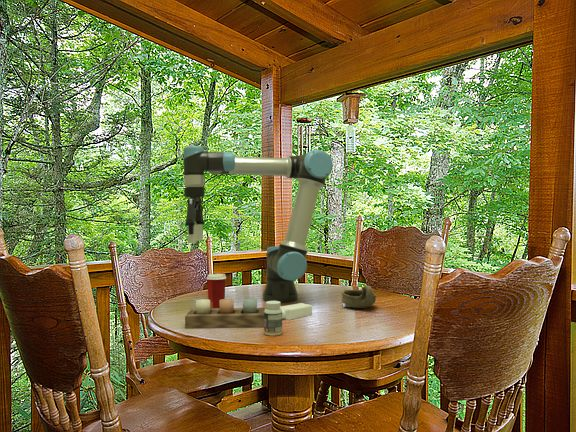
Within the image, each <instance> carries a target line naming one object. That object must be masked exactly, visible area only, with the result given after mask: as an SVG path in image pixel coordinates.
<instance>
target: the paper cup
mask: <svg viewBox="0 0 576 432" xmlns="http://www.w3.org/2000/svg"><path fill="white" fill-rule="evenodd" d="M205 279H206V281H207V283H206V285H207V295H208V297H207V299H209V300H210V308H220V307H219V300H221V299H226V298H225V297H226V279H227V276H226V274H225V273H210V274H207V277H206V278H205Z"/></svg>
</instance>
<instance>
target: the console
mask: <svg viewBox="0 0 576 432" xmlns="http://www.w3.org/2000/svg"><path fill="white" fill-rule="evenodd" d="M265 309H266V308H265V307H257V313H243V307H234V313H233V314H220V308H210V314H196V308H190V310H189V311H188V313H187V314H185V316H184V329H230V328H231V329H235V328H236V329H237V328H239V329H240V328H241V329H242V328H243V329H244V328H246V329H248V328H264V310H265Z"/></svg>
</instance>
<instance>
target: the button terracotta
mask: <svg viewBox="0 0 576 432" xmlns="http://www.w3.org/2000/svg"><path fill="white" fill-rule="evenodd" d="M234 302H235V301H234V299H233V298H225V299H221V300H219V307H220V314H233V313H234V308H235V307H234Z"/></svg>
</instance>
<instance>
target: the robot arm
mask: <svg viewBox="0 0 576 432" xmlns="http://www.w3.org/2000/svg"><path fill="white" fill-rule="evenodd" d="M333 166H334V163H333V159H332V158H331V156H330V154H328V153H327V152H326V151H324V150H322V149H313V150H310V151H308V152H306V153H302V154H299V155H293V156H291V155H288V156H286V157H285V158H284V157H282V158H281V157H259V156H258V157H256V156H235V154H234V152H232V151H205V150H204V147H203V146H200V145H186V146H184V148H183V176H184V177H183V178H182V181H183V185H184V186H185V187H184V197H185V198H188V199H187V208H186V219H185V223H184V224H185V227H186V226H187V243H188V244H197V242H198V241H199V242H200V241H203V240H204V238H203V237H204V235H203V234H204V233H203V225H205V221H204V215H203V207H202V199H200V198H203V197H205V173H204V172H208V173H209V174H210V175H213V176H214V175H215V176H217V175H240V176H241V175H248V176H249V175H250V176H277V177H278V176H279V177H281V176H282V177H286V179H296V180H297V182H298V188H297V192H296V196H295V199H294V204H293V207H292V209H291V210H292V211H291V214H290V218H289V221H288V222H289V223H288V226H287V231H286V234H285V237H284V240H283V241H281V242H280V243H279V245H277V246H276V245H275V246H269V247H268V248H267V249H266V254H265V255H266V283H265V284H266V285H265V287H264V289H263V294H262V300H264V301H266V302H267V301H279V302H281V303H288V302H294V301H297V300H298V299H299V298H298V297H299V294H298V290H297V287H296V284H295V281H297V280H299V279H301V278H302V277H303V276H304V275H305V274H306V272H307V268H308V263H307V259H306V258H307V254H308V249H307V247H306V242H307V239H308V236H309V231H310V227H311V223H312V220H313V216H314V212H315V209H316V204H317V200H318V196H319V193H320V192H319V191H320V189H322V188H324V187H325V184H326V180H327V177H328V176H329V175H330V174H331V173H332V171H333Z"/></svg>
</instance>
